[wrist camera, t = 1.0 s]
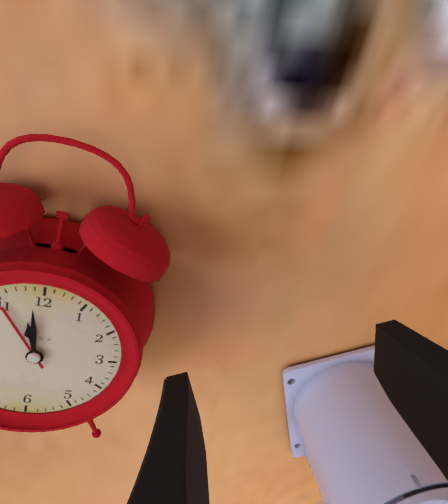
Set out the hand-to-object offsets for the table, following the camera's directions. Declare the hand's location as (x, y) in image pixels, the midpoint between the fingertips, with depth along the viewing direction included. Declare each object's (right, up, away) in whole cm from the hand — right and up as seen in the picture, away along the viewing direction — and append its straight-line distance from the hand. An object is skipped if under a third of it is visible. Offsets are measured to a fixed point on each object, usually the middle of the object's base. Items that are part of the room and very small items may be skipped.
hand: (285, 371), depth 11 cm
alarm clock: (-10, +2, +8) cm, 13 cm away
